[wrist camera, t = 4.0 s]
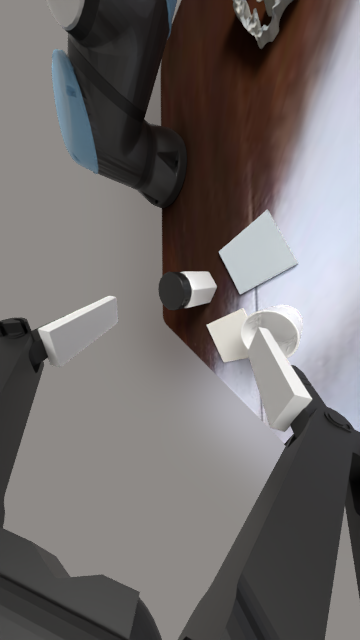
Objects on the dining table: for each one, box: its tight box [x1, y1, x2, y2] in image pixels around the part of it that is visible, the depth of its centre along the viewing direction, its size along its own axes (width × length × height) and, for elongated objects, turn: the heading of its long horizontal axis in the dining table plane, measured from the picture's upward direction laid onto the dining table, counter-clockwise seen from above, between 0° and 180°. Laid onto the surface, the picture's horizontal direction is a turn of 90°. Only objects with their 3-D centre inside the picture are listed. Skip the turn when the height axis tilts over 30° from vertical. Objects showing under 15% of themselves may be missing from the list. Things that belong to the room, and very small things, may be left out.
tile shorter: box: [207, 308, 249, 362], centre depth 37 cm, size 11×11×1 cm
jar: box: [159, 272, 217, 310], centre depth 37 cm, size 9×8×12 cm
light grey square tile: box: [219, 210, 298, 294], centre depth 30 cm, size 11×11×1 cm
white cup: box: [241, 305, 303, 358], centre depth 26 cm, size 8×8×10 cm
